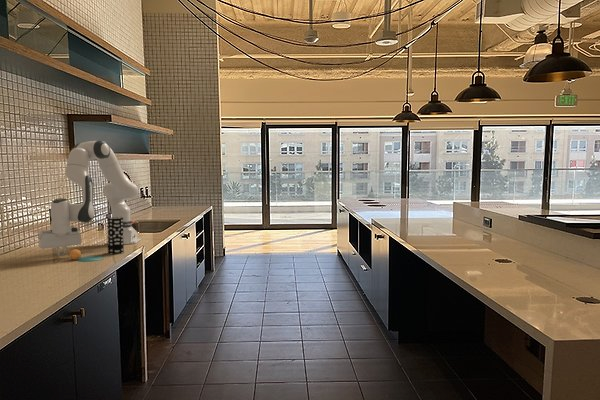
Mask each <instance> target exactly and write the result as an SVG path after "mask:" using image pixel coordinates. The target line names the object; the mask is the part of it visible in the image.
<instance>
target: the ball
mask: <svg viewBox="0 0 600 400" xmlns="http://www.w3.org/2000/svg"><path fill="white" fill-rule="evenodd" d="M81 257H82V252H81V251H80V250H79V249H72V250H70V252H69V258H70V259H71V260H73V261H77V259H79V258H81Z"/></svg>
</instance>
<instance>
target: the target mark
mask: <svg viewBox="0 0 600 400" xmlns="http://www.w3.org/2000/svg"><path fill="white" fill-rule="evenodd" d="M100 259H101V260H103V259H104V257H103V256H99V255H89V256H88V255H87V256H81V257H80V258H79V259H77V260H76V261H78V262H84V263H85V262H95V261H96V260H97V261H100ZM97 261H96V262H97Z"/></svg>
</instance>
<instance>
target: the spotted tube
mask: <svg viewBox="0 0 600 400" xmlns="http://www.w3.org/2000/svg"><path fill="white" fill-rule="evenodd" d="M106 224H107V241H108V243H107V254H108V255H121V254H123V253H125V252H124V251H125V250H124V249H125V248H124V245H125V244H124V240H123V217H112V216H111V217H107V219H106Z"/></svg>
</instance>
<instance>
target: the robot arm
mask: <svg viewBox="0 0 600 400" xmlns="http://www.w3.org/2000/svg"><path fill="white" fill-rule="evenodd" d="M66 161H67V162H66V167H65V176H66V178H67V179H68V180H70V182H72V183H74V184H77V185H79V186H80V187H81V189H82V203H72V202H69V200H68V199H67V198H63V197H62V198H56V199H53V200H52V201H51V204H50V219H51V222H50V229H47V230H41V231H40V232H39V233H38V239H39V242H38V248H40V249H42V250H43V249H44V250H45V249H53V248H55V249H54V250H55V251H56V252H57V256H65V252H66V250H67V247H72V246H73V247H74V246H80V245H82V244H83V241H82V235H81V233H80V230H81V228H79V227H78V226H73V225H71V223H70V222H80V223H85V224H87V223H89V222H91V221H92V220H93V219H94V218H95V216H96V213H95V212H96V211H95V205H94V184H93V179H92V177H91V175H89V163H90V161H97V165H98V166H99V168H100V171H101V173H102V175H103V177H104V178H105V180H107V181H108V183H106V184H104V185H103V186H102V187H103V188H102V194H103V195H104V197H105V198H106V199H107V200H108V203H109V206H110V211H111V217H123V240H124V245H131V244H132V245H133V244H137V243H138V242H140V241H141V240H142V238H139V237H138V232H137V230H136V229H135V228H134V227H133V224H134V220H131V208H130V206H128V205H127V203H126V201H129V200H134V199H136V198H137V197H138V195H139V187H138V185H136V184H135V183H134V182H132V181H131V180H130V179H129V178H128V176H127V175H125V173H124V171H123V169H122V167H121V165H120V163H119V159H118V158H117V156H116V154H115V152H114V150H112V148H111V147H110V145H109V144H108V142H106V141H105V140H88V141H84V142H78V143H77V144H75V145H74V147H73V148H72V149H71V150H70V152H69V154H68V158H67V160H66ZM106 243H107V244H108V240H107V241H106ZM61 247H62V250H61V251H60V248H61Z"/></svg>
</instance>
